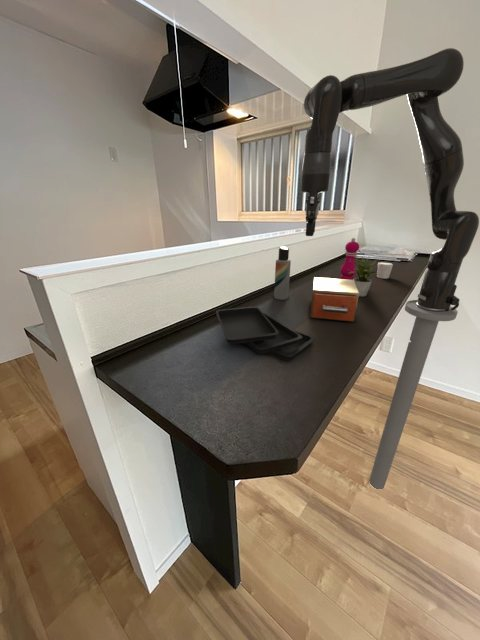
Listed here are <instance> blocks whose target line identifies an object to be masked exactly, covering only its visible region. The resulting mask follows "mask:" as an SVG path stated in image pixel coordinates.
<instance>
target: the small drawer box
mask: <svg viewBox="0 0 480 640" xmlns="http://www.w3.org/2000/svg"><path fill="white" fill-rule="evenodd" d="M315 293H329V294H342V295H353V296H357V302H356V307H355V313H354V318H353V321H348V322H351V323H354V322H355V318H356V313H357V307H358V303H359V297H360V296H359V291H358V289H357V287H356V284H355V282H354V280H349V279H340V278H331V277H317V276H316V277H315V276H314V277H313V285H312V294H311V304H310V312H309V313H310V314H309V318H310V319H316V318H315V317H312V311H313V302H314V294H315ZM317 319H320V320H326V319H325V318H317ZM328 320H329V321H330V320H331V321H337V320H336V319H328ZM338 321H340V322H347V321H346V320H338Z"/></svg>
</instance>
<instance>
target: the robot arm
mask: <svg viewBox="0 0 480 640" xmlns="http://www.w3.org/2000/svg"><path fill="white" fill-rule="evenodd" d="M464 63H465V62H464V56H463V54H462V53H461V51H459V49H456V48H453V47H449V48H445V49H442V50H440V51H437V52H436V53H435V52H434V53H433V54H431V55H429V56H426V57H423V58H421V59H418V60H417V59H416V60H414V61H411V62H408V63H405V64H401V65H396V66H393V67H388V68H382V69H376V70H372V71H366V72H361V73H355V74H353V75H350V76H347V77H346V78H344V79H343V80H340V79H339V78H338V77H337V76H336V75H333V74H332V75H331V74H329V75H326V76H325V77H322V78H321V79H320V80H319V81H318V82H317V83H315V84H314V86H312V87H311V88H310V89H309V90H308V92H307V93H306V95H305V96H304V97H305V98H304V101H303V109H304V112H305V114H306V116H308V117H309V118H310V119H311V125H310V127H309V129H308V130H307V132H306V134H305V139H304V140H305V141H304V152H303V153H304V154H303V161H302V166H301V167H302V169H301V183H300V192H301V193H303V194H306V193H307V194H308V196H307V197H306V199H305V212H304V213H305V222H306V225H305V237H313V236H314V235H315V234H314V233H315V232H316V221H317V219H318V215H319V211H320V206H321V199H320V198H319V194H320V193H327V192H328V191H329V186H330V175H331V167H332V150H333V149H332V148H333V136H334V132H335V129H336V126H337V124H338V119H339V115H340V114H341V113H343V112H344V113H345V112H349V111H356V110H360V109H366V108H370V107H373V106H377V105H381V104H383V103H387V102H389V101H391V100H394V99H396V98H400V97H403V96H407V101H408V105H409V108H410V112H411V115H412V117H413V121H414V124H415V128H416V133H417V137H418V141H419V142H418V143H419V146H420V150H421V156H422V163H423V164H422V165H423V169H424V174H425V178H426V183H427V190H428V195H429V196H428V197H429V202H430V214H431V215H430V217H431V218H430V220H431V228H432V233H433V235H434V236H435V237H436V238H437V239H440V240H443V241H444V240H445V241H444V244H443V246H442V247H441V248H439V249H437V250H434V251H431V253H430V255H429V258H428V263H427V266H426V269H425V273H424V276H423V279H422V283H421V287H420V291H419V293H418V294H417V299H416V300H417V303H416V306H417V307H419V308H421V309H424V310H428V311H433V312H444V311H449V308H450V306H452V307H453V308H451V310H455V309H456V310H457V309H458V307H459V306H460V298H459V297H457V296H455V294H456V290H457V287H458V286H457V284H456V282H457V279H458V276H459V275H458V274H459V273H460V269H461V266H462V263H463V260H464V258H465V257H466V256H467V255H468V253H469V252H470V249H471V247H472V244H473V242H474V239H475V237H476V235H477V232H478V229H479V225H480V217H479V215H478V214H477V213H476V212H474V211H469V210H457V208H456V204H455V190H456V187H457V184H458V183H459V180H460V178H461V175H462V173H463V170H464V165H465V159H464V150H463V144H462V140H461V138H460V136H459V135H458V134H457V132H456V131H455V130H454V129H453V128H452V126H451V125H450V124H449V123H448V122H447V121H446V119H445V118H444V116H443V113H442V111H441V108H440V103H439V97H441V96H443V95H444V94H446V93H447V92H449V91H450V90H451V89H453V88H454V86H456V85H457V83H458V82H459V80H460V79H461V77H462V74H463V71H464V66H465V65H464Z"/></svg>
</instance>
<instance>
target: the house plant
mask: <svg viewBox="0 0 480 640" xmlns="http://www.w3.org/2000/svg"><path fill="white" fill-rule="evenodd" d="M370 256H371V255H369V257H368V258H367V259H366V260H365V259H364V256H363V255H362V256H361V263H360V260H359V259H358V257H356V256H354V257H355V261H354V262H355V264H354V263H353V262H352V263H353V264H354V265H356V266H355V267H356V269H354V270H356V271H355V273H356V274H357V276H356V274H355V275H354V279H353V280H354V282H355V284H356V287H357V289H358V291H359V297H366V296H367V295H368V292H369V290H370V287H371V285H372V283H373V280H372V279H371V278H372V277H373V276H377V275H379V274H377V273H378V272H377V271H372V270H374V268H375V267H378V263H379V262H378V263H377V264H376V262H377V260H375V261H374V262H372V263H369V264H368V265H367V262H368V260H369V258H370ZM350 260H351V259H350ZM349 262H350V261H349ZM382 262H383V261H381V263H382ZM375 264H376V265H375ZM379 264H380V263H379ZM347 270H348V269H347ZM350 271H351V270H350ZM350 273H353V272H350ZM350 273H349V274H350Z"/></svg>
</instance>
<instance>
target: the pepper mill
mask: <svg viewBox="0 0 480 640" xmlns="http://www.w3.org/2000/svg"><path fill="white" fill-rule="evenodd" d="M344 248H345V249H344V250H345V260H344V263H343V264H342V266H341V267H340V274H341V275H340V278H339V279H349V280H353V279H354V278H355V275H356V274H357V273H355V271H356V270H354V269H356V268H357V265H356V263H355V262H356V258H355V257H356V256H358V251H359V249H360V244H359V243H358V242H357V241H356V238H355V237H352V238H351V241H348V242H347V243H346V244H345V247H344ZM354 256H355V257H354ZM350 259H351V260H350ZM349 261H350V262H349ZM354 261H355V262H354ZM352 262H353V263H354V264H355V265H354V264H353V263H352ZM355 266H356V267H355ZM347 269H348V270H347ZM350 270H351V271H350ZM350 272H353V273H350ZM356 272H357V271H356ZM349 273H350V274H349Z"/></svg>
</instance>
